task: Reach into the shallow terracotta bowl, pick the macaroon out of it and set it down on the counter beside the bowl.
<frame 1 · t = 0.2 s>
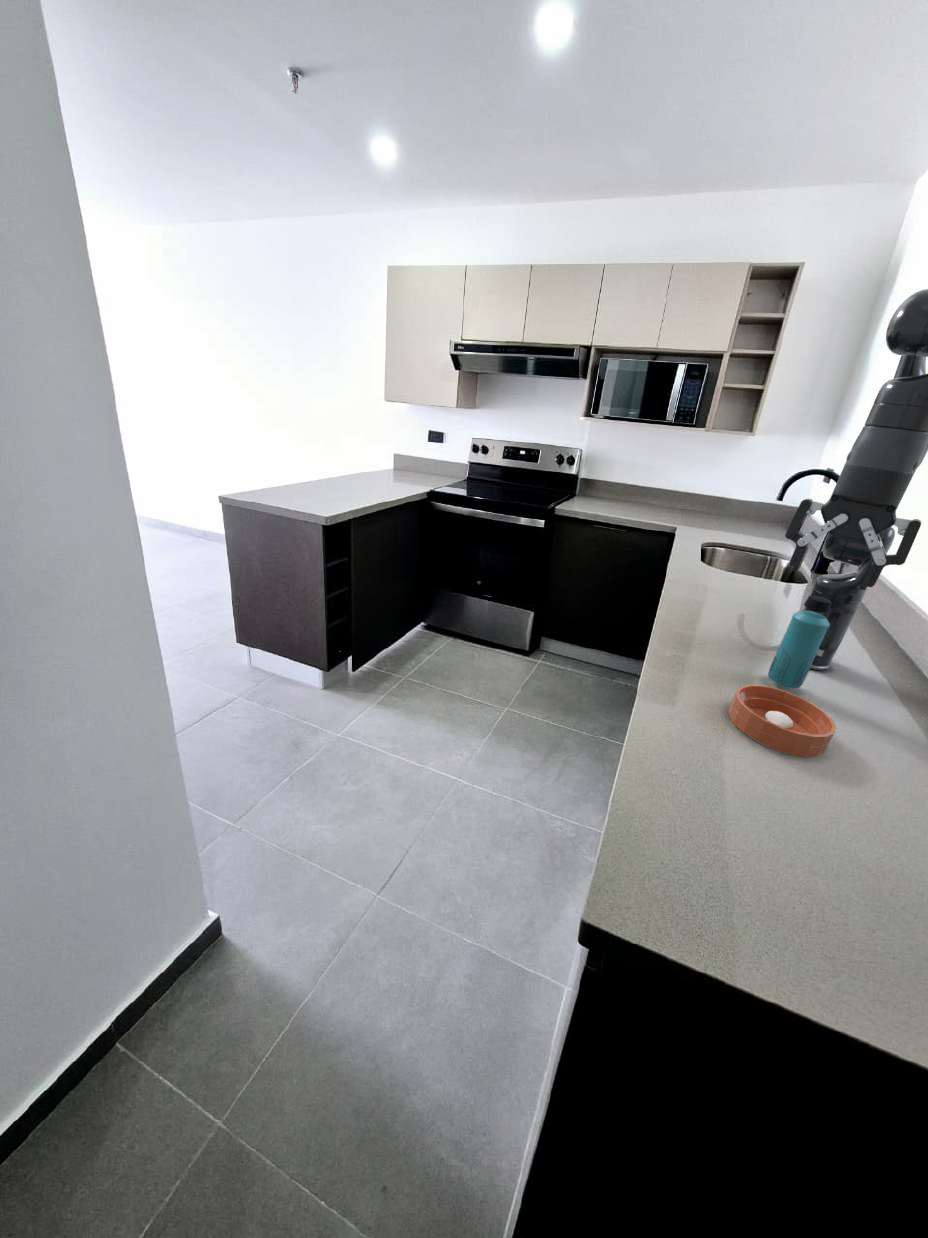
hand: (827, 579, 71), 29 cm above the worktop, tool pointing down, fingers open, 8 cm apart
bowl: (774, 729, 86), on the worktop
beverage bottle: (780, 687, 101), on the worktop
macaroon: (774, 728, 86), resting on bowl
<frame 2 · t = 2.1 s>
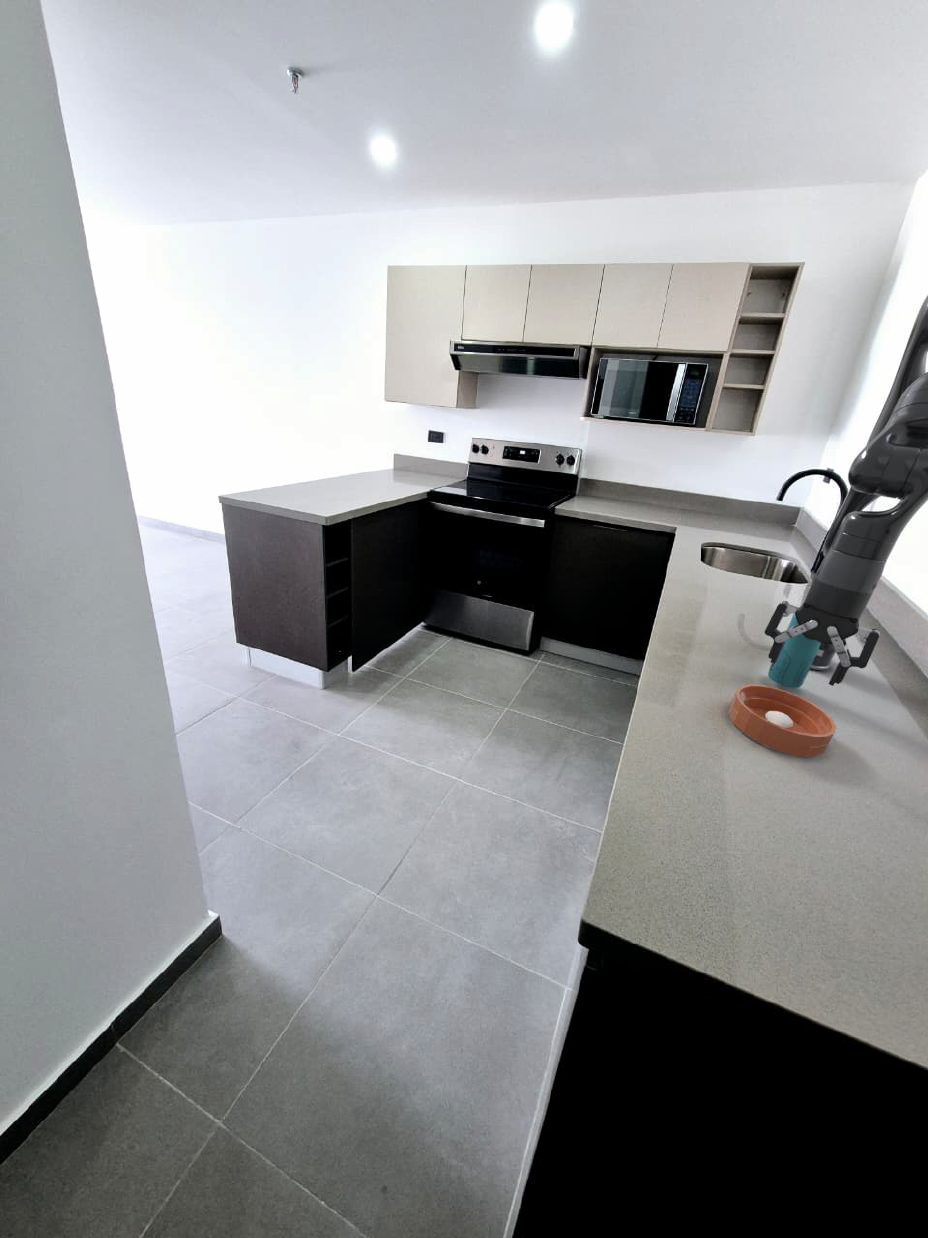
hand: (801, 672, 81), 12 cm above the worktop, tool pointing down, fingers open, 8 cm apart
nothing on the worktop moved.
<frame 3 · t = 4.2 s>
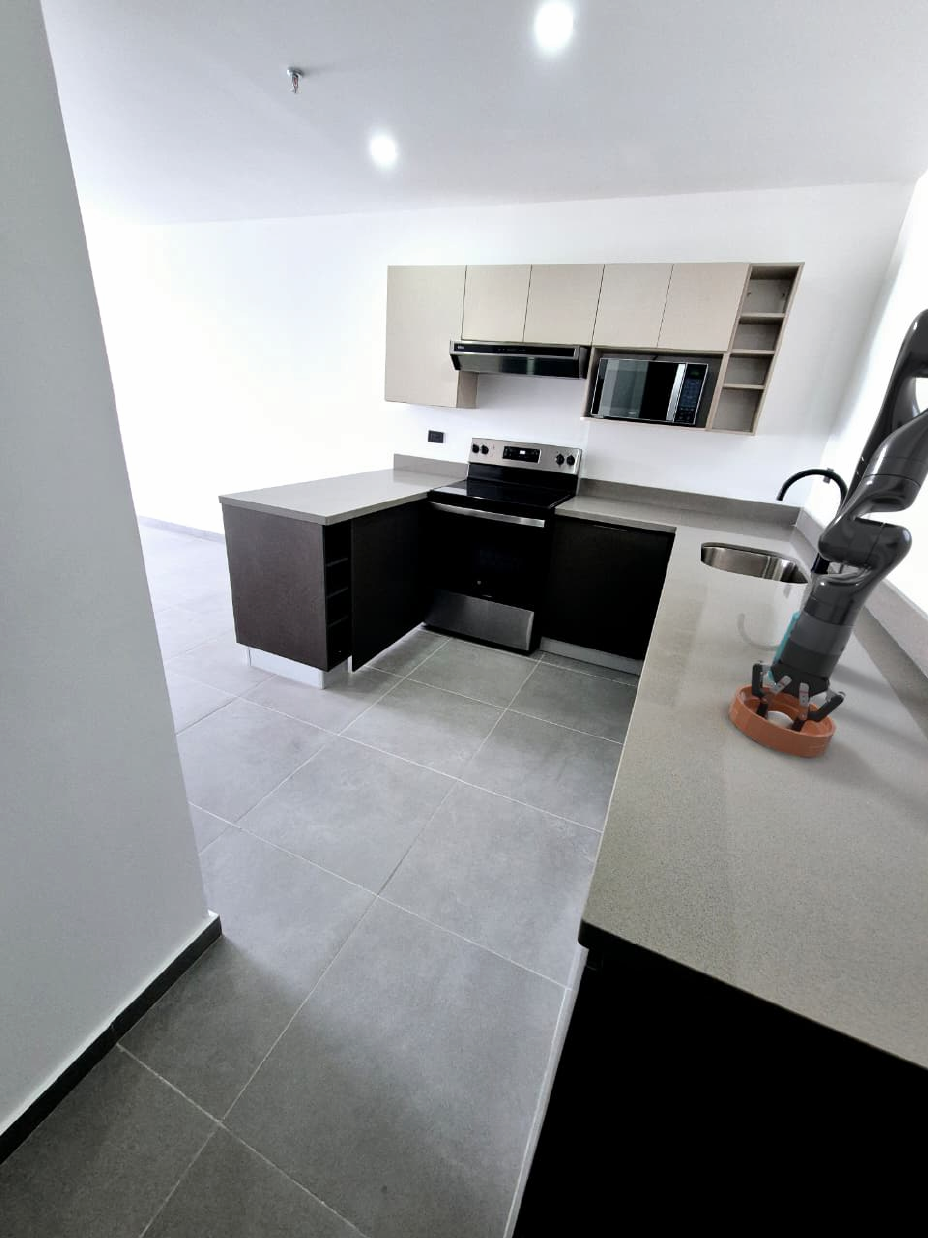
hand: (775, 726, 86), 1 cm above the worktop, tool pointing down, fingers closed on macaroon, 4 cm apart
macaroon: (774, 728, 86), resting on bowl, touching gripper
everything else where it was.
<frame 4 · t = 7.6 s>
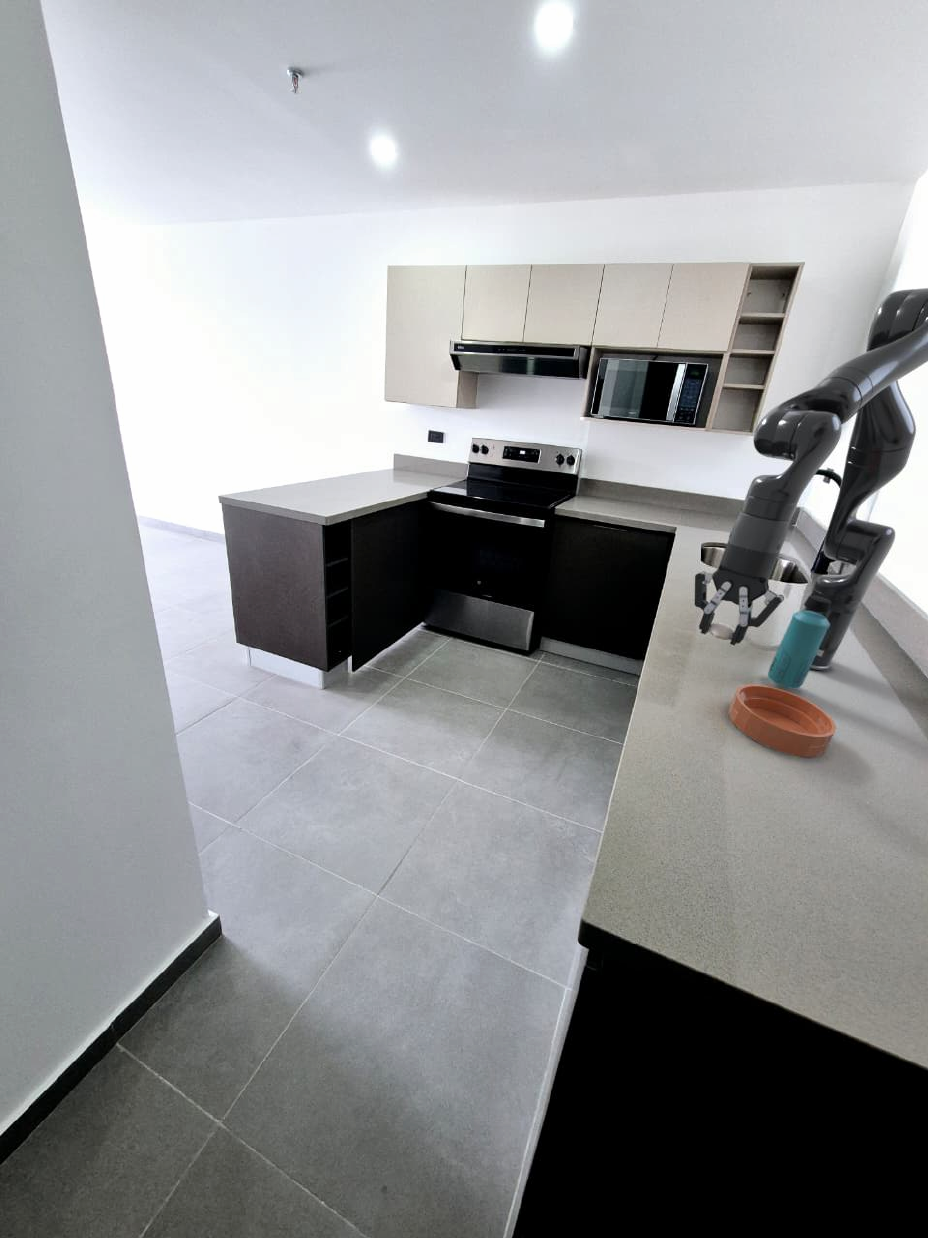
hand: (718, 637, 85), 14 cm above the worktop, tool pointing down, fingers closed on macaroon, 4 cm apart
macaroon: (718, 639, 85), point 14 cm above the worktop, touching gripper
everything else where it was.
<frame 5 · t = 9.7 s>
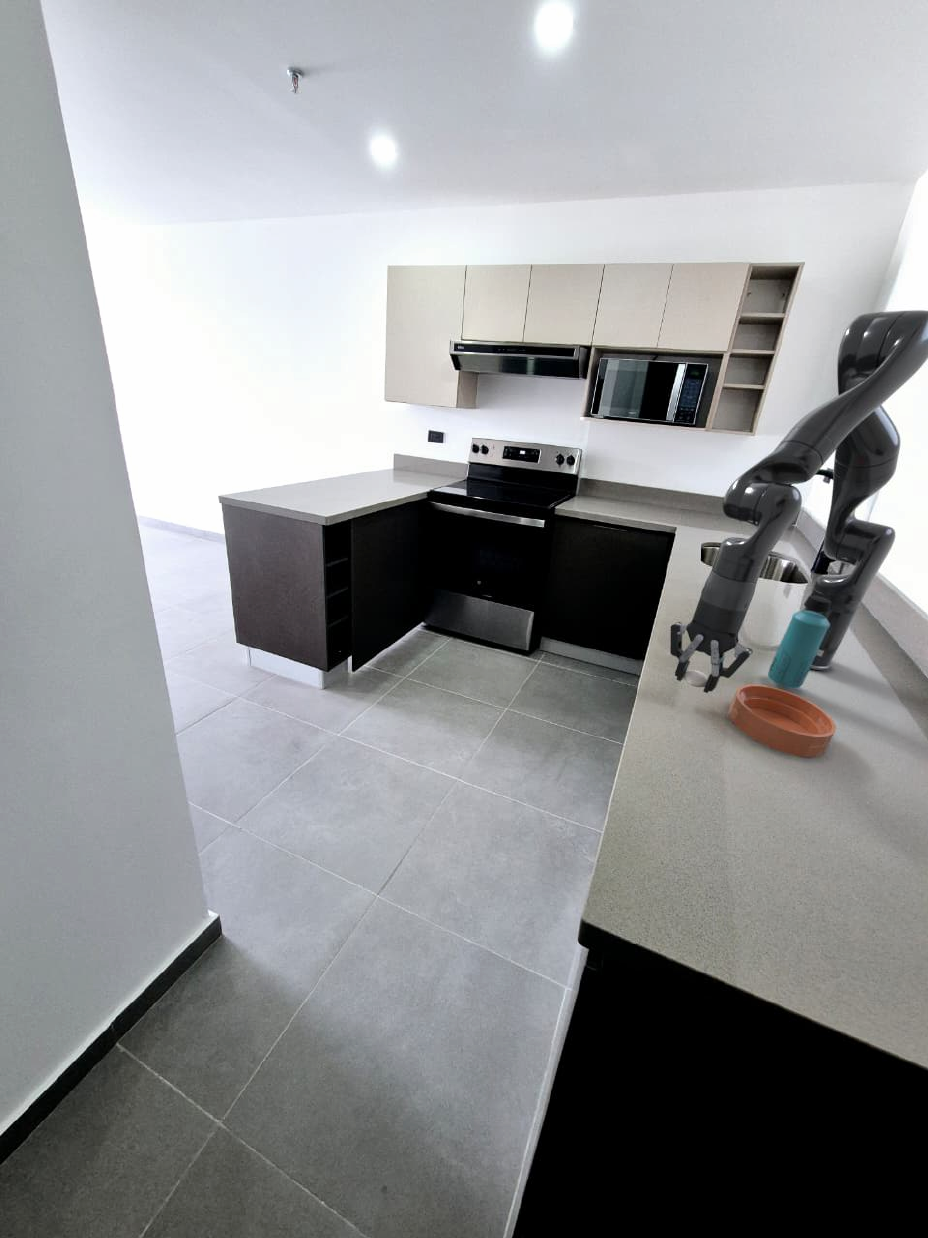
hand: (693, 684, 89), 4 cm above the worktop, tool pointing down, fingers closed on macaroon, 4 cm apart
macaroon: (692, 686, 90), point 3 cm above the worktop, touching gripper
everything else where it was.
when the fingers open (0 cm above the worktop, at t = 11.1 s): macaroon stays where it is, on the worktop.
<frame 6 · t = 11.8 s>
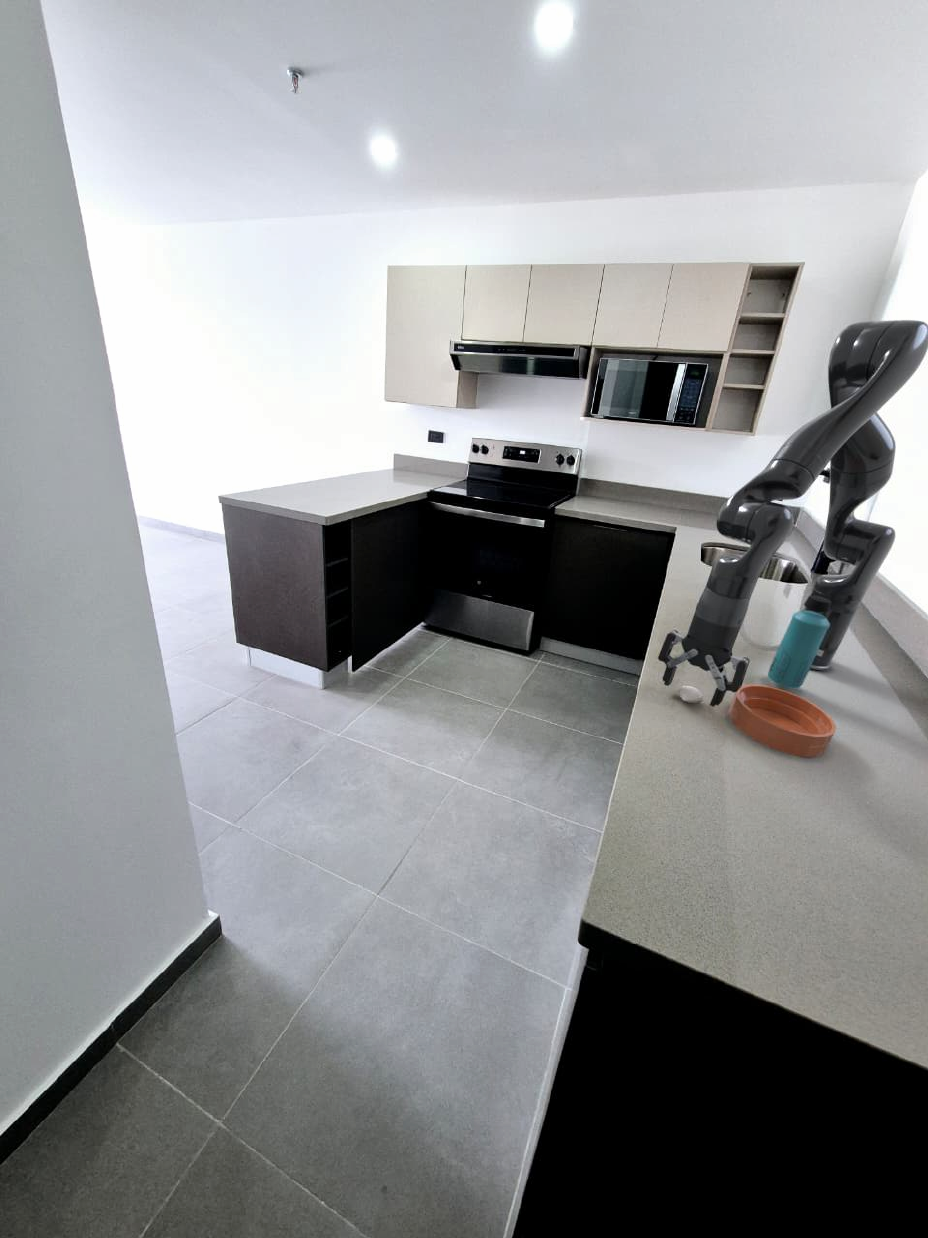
hand: (689, 694, 90), 2 cm above the worktop, tool pointing down, fingers open, 8 cm apart
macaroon: (686, 702, 91), on the worktop
everything else where it was.
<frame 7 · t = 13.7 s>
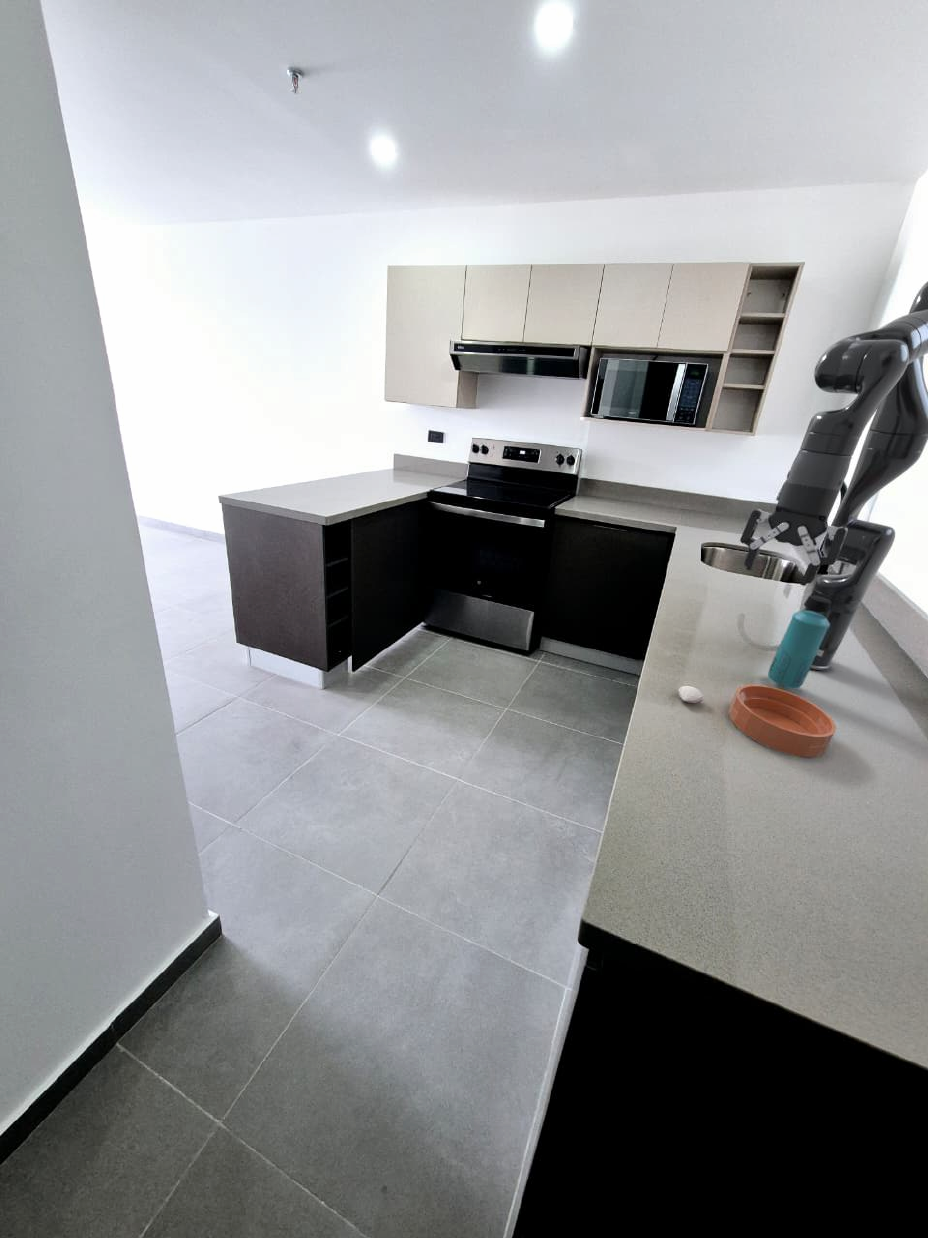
hand: (775, 576, 84), 25 cm above the worktop, tool pointing down, fingers open, 8 cm apart
nothing on the worktop moved.
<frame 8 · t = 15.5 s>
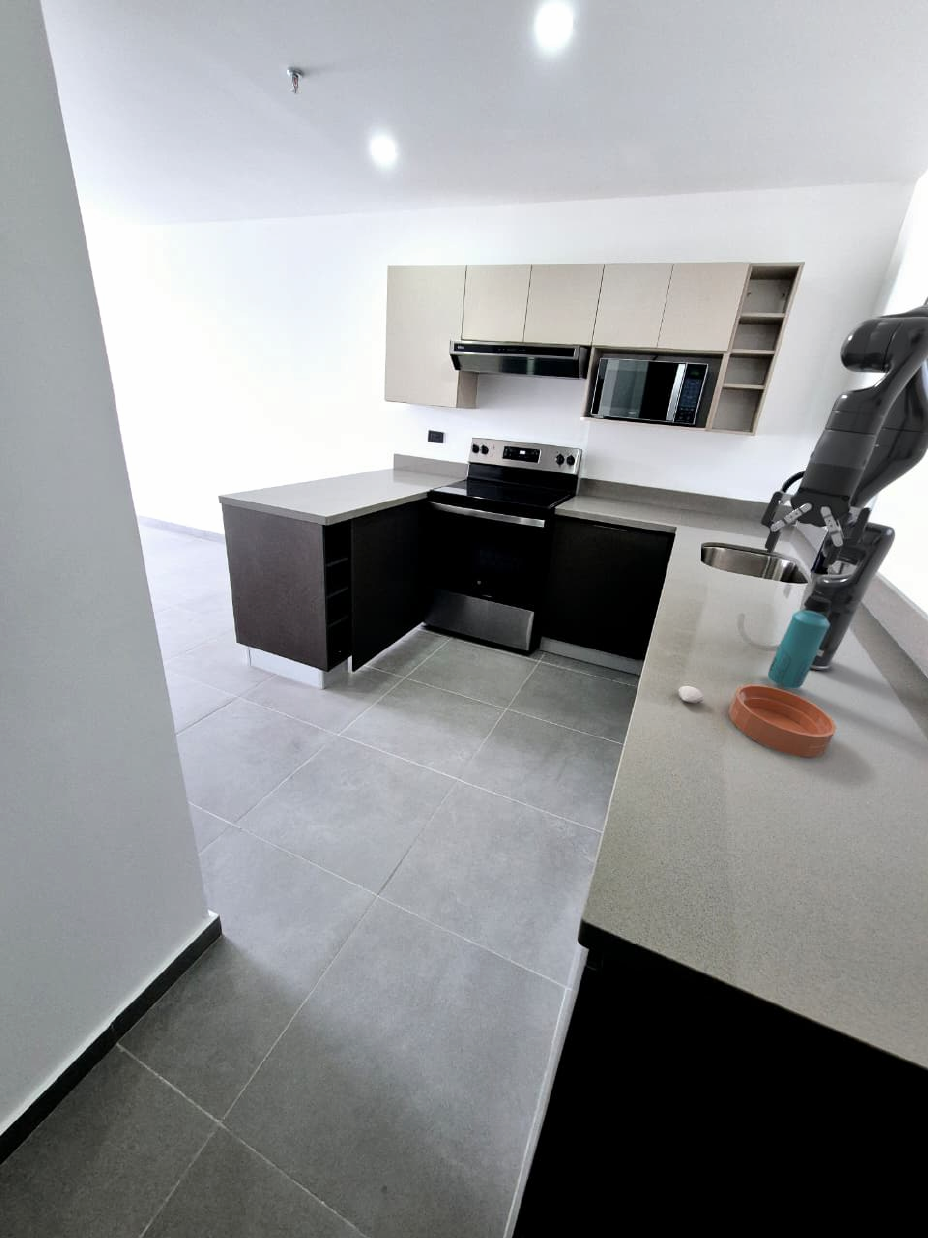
hand: (796, 559, 84), 28 cm above the worktop, tool pointing down, fingers open, 8 cm apart
nothing on the worktop moved.
at the end: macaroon inside the target area (0.0 cm from its centre), on the worktop; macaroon touching worktop; the gripper is holding nothing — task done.
